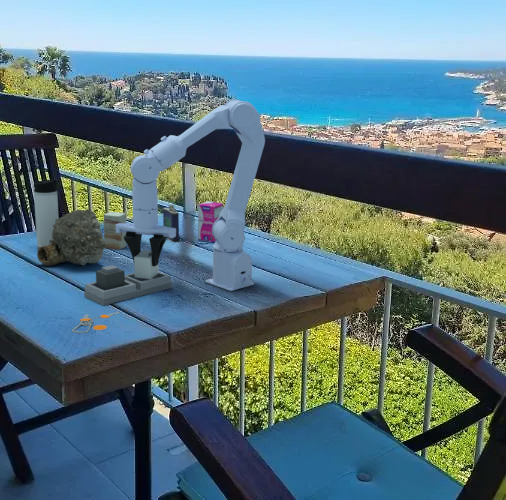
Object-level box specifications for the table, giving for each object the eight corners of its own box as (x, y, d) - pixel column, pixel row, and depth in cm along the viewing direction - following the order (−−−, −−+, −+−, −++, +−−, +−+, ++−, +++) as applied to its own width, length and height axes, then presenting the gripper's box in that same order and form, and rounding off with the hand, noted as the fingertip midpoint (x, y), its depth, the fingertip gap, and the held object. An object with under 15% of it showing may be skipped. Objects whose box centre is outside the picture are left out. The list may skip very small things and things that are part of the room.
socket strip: (172, 287, 162) (172, 275, 161) (103, 305, 149) (103, 292, 148) (152, 280, 167) (151, 268, 166) (84, 296, 154) (83, 284, 153)
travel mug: (57, 251, 190) (53, 181, 185) (34, 251, 190) (29, 180, 185) (64, 246, 196) (60, 177, 191) (41, 245, 196) (37, 177, 191)
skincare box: (103, 248, 195) (102, 214, 192) (111, 244, 199) (110, 211, 196) (119, 250, 193) (118, 215, 191) (127, 246, 197) (126, 213, 195)
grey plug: (158, 272, 163) (158, 249, 161) (150, 279, 158) (149, 255, 156) (143, 271, 164) (143, 248, 162) (134, 277, 159) (134, 253, 157)
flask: (161, 235, 211) (161, 202, 208) (170, 234, 212) (170, 201, 209) (172, 242, 203) (172, 207, 200) (181, 241, 204) (181, 207, 202)
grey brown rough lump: (106, 199, 178) (49, 193, 170) (113, 247, 171) (54, 243, 163) (84, 234, 191) (30, 230, 183) (90, 280, 185) (34, 278, 177)
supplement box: (197, 240, 206) (197, 203, 203) (207, 236, 211) (207, 200, 208) (213, 243, 203) (213, 206, 200) (223, 239, 208) (223, 202, 205)
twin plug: (125, 291, 154) (124, 267, 153) (106, 296, 151) (105, 271, 149) (115, 287, 157) (114, 263, 156) (96, 291, 154) (95, 267, 152)
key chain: (101, 336, 133) (101, 332, 133) (66, 333, 134) (65, 329, 134) (122, 313, 145) (122, 310, 145) (89, 311, 146) (89, 307, 146)
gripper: (180, 207, 158) (181, 262, 162) (124, 202, 162) (125, 257, 165) (169, 213, 151) (169, 270, 155) (110, 208, 155) (112, 264, 159)
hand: (146, 264), depth 160 cm, fingers closed on grey plug, 4 cm apart
